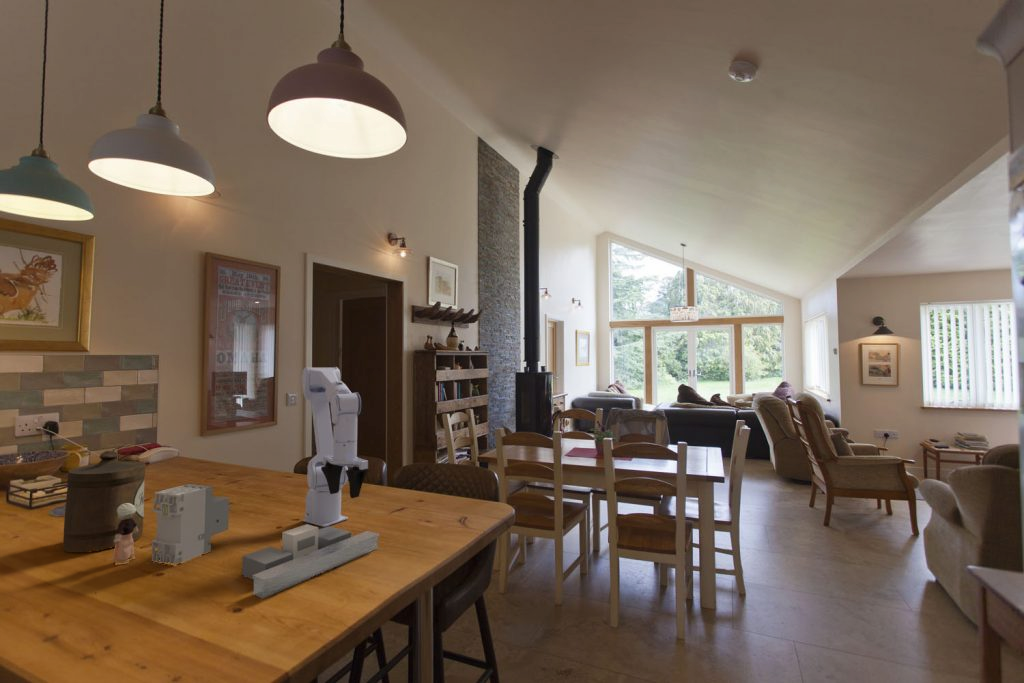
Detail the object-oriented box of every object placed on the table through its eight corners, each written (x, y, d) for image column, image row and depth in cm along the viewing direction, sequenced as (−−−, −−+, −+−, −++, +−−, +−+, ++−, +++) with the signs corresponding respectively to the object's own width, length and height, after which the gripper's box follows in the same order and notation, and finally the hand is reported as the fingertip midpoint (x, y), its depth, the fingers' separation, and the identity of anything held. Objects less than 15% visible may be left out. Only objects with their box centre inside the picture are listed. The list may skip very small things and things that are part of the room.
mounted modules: (241, 575, 97) (241, 555, 97) (327, 542, 115) (327, 525, 115) (264, 585, 93) (265, 564, 93) (350, 549, 111) (351, 532, 111)
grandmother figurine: (119, 557, 107) (121, 500, 107) (140, 554, 108) (142, 498, 109) (105, 570, 99) (108, 509, 100) (128, 567, 101) (130, 507, 102)
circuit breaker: (233, 542, 115) (235, 480, 116) (175, 566, 102) (177, 495, 102) (211, 539, 118) (213, 478, 118) (151, 561, 104) (153, 492, 105)
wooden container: (155, 536, 120) (158, 448, 121) (82, 558, 106) (87, 458, 107) (122, 528, 126) (126, 444, 127) (49, 547, 112) (54, 453, 114)
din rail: (251, 594, 89) (252, 575, 89) (366, 545, 113) (367, 530, 113) (264, 599, 87) (264, 580, 87) (378, 549, 111) (379, 533, 111)
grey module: (281, 565, 103) (282, 532, 103) (306, 555, 108) (307, 524, 108) (293, 569, 100) (294, 535, 101) (318, 559, 105) (319, 527, 106)
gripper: (313, 440, 120) (312, 495, 120) (352, 445, 113) (351, 503, 112) (336, 437, 126) (335, 488, 126) (374, 441, 119) (374, 496, 118)
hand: (344, 495), depth 119 cm, fingers open, 7 cm apart
